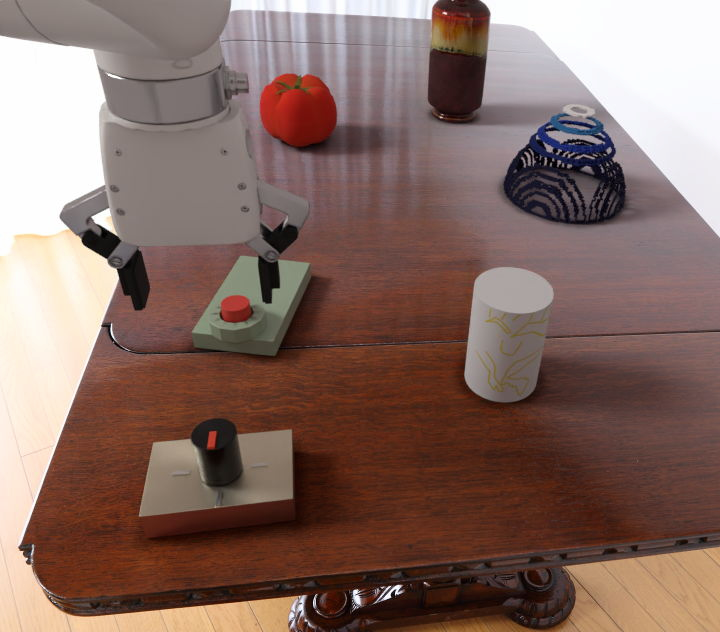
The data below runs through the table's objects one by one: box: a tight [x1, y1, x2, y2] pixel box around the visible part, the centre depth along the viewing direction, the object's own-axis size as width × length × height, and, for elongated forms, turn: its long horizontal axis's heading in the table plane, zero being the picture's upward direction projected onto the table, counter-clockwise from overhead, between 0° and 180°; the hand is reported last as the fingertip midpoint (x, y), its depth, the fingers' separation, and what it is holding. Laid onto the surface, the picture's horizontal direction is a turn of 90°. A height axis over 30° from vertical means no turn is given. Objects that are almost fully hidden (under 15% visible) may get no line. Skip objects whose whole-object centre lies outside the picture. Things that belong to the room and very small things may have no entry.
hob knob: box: [190, 417, 243, 485], centre depth 57 cm, size 4×4×5 cm
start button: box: [221, 295, 251, 323], centre depth 74 cm, size 3×3×2 cm
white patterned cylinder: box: [464, 266, 555, 403], centre depth 73 cm, size 8×8×12 cm
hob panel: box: [138, 428, 296, 540], centre depth 60 cm, size 12×8×3 cm, turn 103°
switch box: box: [191, 255, 312, 357], centre depth 80 cm, size 17×9×4 cm, turn 177°
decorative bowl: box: [502, 103, 627, 225], centre depth 110 cm, size 20×20×14 cm
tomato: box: [259, 73, 338, 148], centre depth 119 cm, size 14×13×10 cm
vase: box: [427, 0, 492, 124], centre depth 130 cm, size 11×11×26 cm
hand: (206, 297), depth 55 cm, fingers open, 9 cm apart
